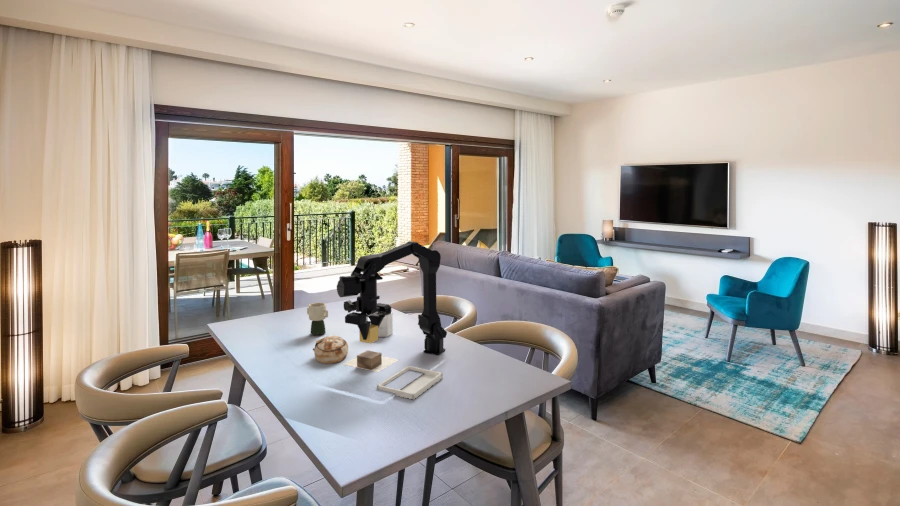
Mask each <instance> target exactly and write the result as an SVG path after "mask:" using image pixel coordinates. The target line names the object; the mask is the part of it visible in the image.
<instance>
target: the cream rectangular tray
mask: <svg viewBox="0 0 900 506" xmlns="http://www.w3.org/2000/svg"><path fill="white" fill-rule="evenodd" d="M408 371H414V372H419V373H422V374H420V375H419V376H417V377H416V378H415V379H414V380H412V381H410V382H408V383H407V384H406V385H405V386H403V387H402V388H400V389H398V388H397V389H396V388H392V387H388V386H385V385H387V384H389V383H390V382H392V381H394V379H397V378H398V377H400V376H401V375H403V374H405V373H406V372H408ZM440 379H441V380H442V379H443V372H441V371H435V370H431V369H426V368H421V367H416V366H411V365H407V366H406V367H404V368H403V369H401V370H399V371H398V372H396V373H395V374H393V375H391V376H389V377H388V378H386V379H385V380H383V381H381V382H380V383H379V384H376V389H377V390H380V391H384V392H389V393H393V394H392V396H395V395H396V396H395V397H399V396H400V398H403V397H404V398H405V399H407V398H409V399H408V400H411V399H413V400H412V401H414V399H415V398H416V399H417V398H419V397H420V396H422V395H423V394H424V393H426V391H428V390H429V389H431V388H432V387H433V386H434V385H436V384H437V383H438V382H440V381H441V380H440ZM436 382H437V383H436ZM435 383H436V384H435ZM432 385H433V386H432ZM431 386H432V387H431ZM427 389H428V390H427ZM423 392H424V393H423ZM419 395H420V396H419ZM418 396H419V397H418ZM416 399H415V400H416Z"/></svg>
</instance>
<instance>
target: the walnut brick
mask: <svg viewBox="0 0 900 506" xmlns="http://www.w3.org/2000/svg"><path fill="white" fill-rule="evenodd" d="M382 356H383V354H382V353H381V352H377V351H373V350H365V351H363V352H362V353H359V354H357V355H356V357H357V367H360V368H359V369H361V368H365V369H369V370H368V371H370V370H372V369H374V368H376V367H378V366H379V365H381V364H382ZM365 369H364V370H365Z"/></svg>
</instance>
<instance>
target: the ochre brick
mask: <svg viewBox="0 0 900 506" xmlns="http://www.w3.org/2000/svg"><path fill="white" fill-rule="evenodd" d="M378 340H379V337H378V326H377V325H371V323H370V327H369V332H368V336H367V339H366V340H364V339H363V337H362V335H361V332H360V331H359V342H360V343H361V342H362V343H366V344H372V343H374V342H376V341H378Z"/></svg>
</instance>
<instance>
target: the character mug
mask: <svg viewBox="0 0 900 506" xmlns="http://www.w3.org/2000/svg"><path fill="white" fill-rule="evenodd" d="M306 314H307V315H308V319H309V321H311V323H310V334H311V335H313V336H318V335H320V334H321V335H322V334H326V325H325V319H326V318H328V317H329V310H328V309H327V304H326V303H324V302H313V303H309V304H308V306H307V308H306Z"/></svg>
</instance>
